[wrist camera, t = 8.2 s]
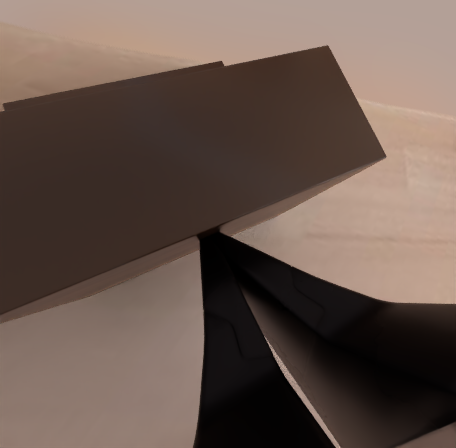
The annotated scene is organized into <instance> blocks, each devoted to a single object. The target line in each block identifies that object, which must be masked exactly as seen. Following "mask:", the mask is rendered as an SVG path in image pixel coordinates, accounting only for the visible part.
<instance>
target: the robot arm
mask: <svg viewBox="0 0 456 448" xmlns="http://www.w3.org/2000/svg"><path fill="white" fill-rule="evenodd" d="M199 245H200V262H201V279H202V296H203V310H204V312H203V315H204V355H203V369H202V381H201V394H200V406H199V415H198V423H197V430H196V436H195V440H194V445H193V448H336V447H335V446H334V445H333V443H332V442H331V440H330V439H329V438H328V436H327V435H326V433H325V432H324V431H323V429H322V428H321V427H320V425H319V424H318V422H317V421H316V420H315V418H314V417H313V415H312V414H311V413H310V411H309V410H308V408H307V407H306V406H305V404H304V403H303V401H302V400H301V399H300V397H299V396H298V394H297V393H296V392H295V390H294V389H293V387H292V386H291V385H290V383H289V382H288V380H287V379H286V378H285V376H284V374H283V373H282V371H281V369H280V367H279V365H278V363H277V362H276V360H275V358H274V357H273V353H272V351H271V349H270V347H269V345H268V343H267V341H266V339H267V340H268V341H269V343H270V344H271V346H272V347H273V349H274V350H275V352H276V353H277V355H278V356H279V357H280V359H281V360H282V362H283V363H284V365H285V366H286V368H287V369H288V371H289V372H290V373H291V375H292V376H293V378H294V379H295V381H296V382H297V384H298V385H299V386H300V387H301V390H302V391H303V393H304V394H305V395H306V397H307V398H308V400H309V401H310V403H311V404H312V406H313V407H314V409H315V410H316V411H317V413H318V414H319V416H320V417H321V419H322V420H323V422H324V423H325V425H326V426H327V427H328V429H329V430H330V432H331V433H332V435H333V436H334V438H335V439H336V441H337V442H338V443H339V445H340V446H341V448H456V304H426V303H394V302H387V301H382V300H378V299H375V298H372V297H369V296H366V295H363V294H360V293H358V292H355V291H352V290H349V289H347V288H344V287H341V286H338V285H336V284H333V283H330V282H328V281H325V280H323V279H320V278H317V277H315V276H313V275H310V274H308V273H306V272H304V271H301V270H299V269H297V268H295V267H293V266H292V267H291V265H289V264H287V263H284V262H282V261H280V260H278V259H276V258H274V257H272V256H270V255H268V254H266V253H263V252H261V251H259V250H257V249H255V248H253V247H251V246H249V245H247V244H244V243H242V242H240V241H238V240H236V239H234V238H232V237H230V236H228V235H226V234H223V233H221V232H217V233H215V234H212V235H210V236H208V237H205V238H203V239H200V240H199ZM263 334H264V335H263ZM264 336H265V337H266V339H265V337H264Z"/></svg>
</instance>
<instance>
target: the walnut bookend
mask: <svg viewBox="0 0 456 448" xmlns="http://www.w3.org/2000/svg"><path fill="white" fill-rule="evenodd" d="M3 107H4V110H5V111H3V112H0V323H4V322H7V321H10V320H13V319H17V318H20V317H23V316H27V315H30V314H33V313H36V312H40V311H43V310H46V309H49V308H53V307H56V306H59V305H62V304H66V303H69V302H72V301H75V300H79V299H82V298H85V297H89V296H92V295H94V294H96V293H99V292H101V291H103V290H106V289H108V288H110V287H113V286H115V285H117V284H120V283H122V282H124V281H127V280H129V279H131V278H134V277H136V276H138V275H141V274H143V273H145V272H148V271H150V270H152V269H155V268H157V267H159V266H162V265H164V264H166V263H169V262H171V261H173V260H176V259H178V258H180V257H183V256H185V255H187V254H190V253H192V252H194V251H197V250H199V249H200V245H199V240H200V239H203V238H205V237H208V236H210V235H212V234H215V233H217V232H221V233H223V234H226V235H228V236H232V235H234V234H237V233H239V232H241V231H244V230H246V229H248V228H251V227H253V226H255V225H258V224H260V223H262V222H265V221H267V220H269V219H272V218H274V217H276V216H278V215H280V214H282V213H284V212H286V211H288V210H289V209H291V208H293V207H295V206H297V205H299V204H301V203H303V202H304V201H306V200H308V199H310V198H312V197H314V196H316V195H317V194H319V193H321V192H323V191H325V190H327V189H329V188H331V187H332V186H334V185H336V184H338V183H340V182H342V181H344V180H346V179H347V178H349V177H351V176H353V175H355V174H357V173H359V172H361V171H362V170H364V169H366V168H368V167H370V166H372V165H374V164H375V163H377V162H379V161H381V160H383V159H385V158H386V154H385V153H384V151H383V149H382V147H381V145H380V143H379V141H378V139H377V137H376V135H375V134H374V132H373V130H372V128H371V126H370V124H369V122H368V120H367V118H366V116H365V115H364V113H363V111H362V109H361V107H360V105H359V103H358V101H357V99H356V97H355V96H354V94H353V92H352V90H351V88H350V86H349V84H348V82H347V80H346V78H345V77H344V75H343V73H342V71H341V69H340V67H339V65H338V63H337V61H336V59H335V58H334V56H333V54H332V52H331V50H330V48H329V46H322V47H317V48H312V49H308V50H303V51H298V52H293V53H288V54H283V55H278V56H273V57H268V58H264V59H258V60H253V61H249V62H244V63H239V64H234V65H229V66H224V64H223V62H222V61H219V62H213V63H208V64H203V65H198V66H193V67H188V68H183V69H178V70H173V71H167V72H162V73H157V74H152V75H147V76H142V77H137V78H132V79H127V80H121V81H116V82H111V83H106V84H101V85H96V86H91V87H86V88H81V89H75V90H70V91H65V92H60V93H55V94H50V95H45V96H40V97H35V98H29V99H24V100H19V101H14V102H9V103H4V104H3Z"/></svg>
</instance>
